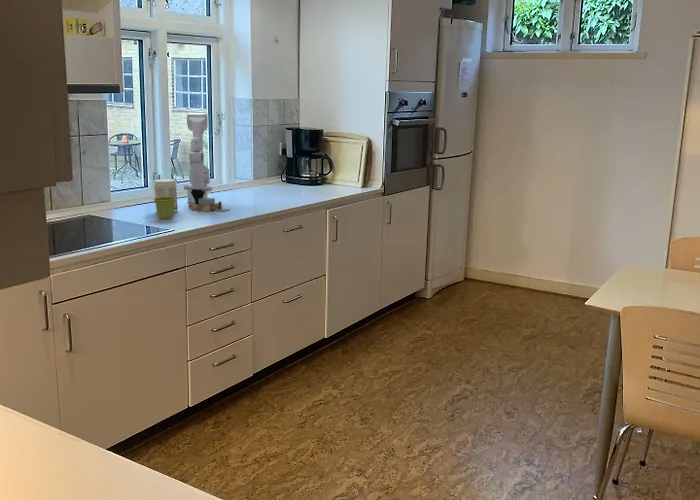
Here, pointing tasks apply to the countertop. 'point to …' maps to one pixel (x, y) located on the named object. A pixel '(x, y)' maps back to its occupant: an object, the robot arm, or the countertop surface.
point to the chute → (205, 207)
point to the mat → (221, 210)
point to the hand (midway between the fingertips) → (198, 205)
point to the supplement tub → (166, 190)
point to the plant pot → (165, 207)
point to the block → (207, 201)
